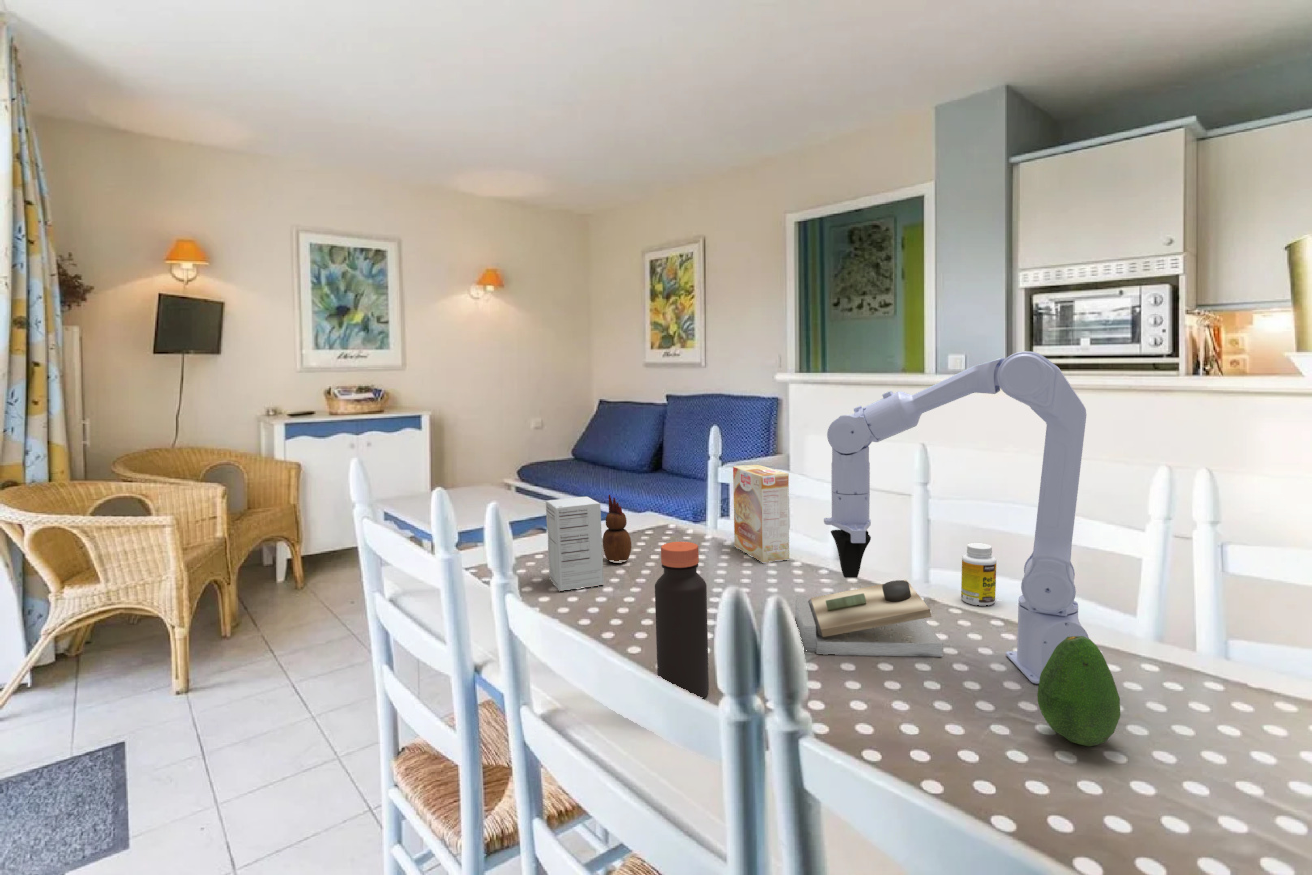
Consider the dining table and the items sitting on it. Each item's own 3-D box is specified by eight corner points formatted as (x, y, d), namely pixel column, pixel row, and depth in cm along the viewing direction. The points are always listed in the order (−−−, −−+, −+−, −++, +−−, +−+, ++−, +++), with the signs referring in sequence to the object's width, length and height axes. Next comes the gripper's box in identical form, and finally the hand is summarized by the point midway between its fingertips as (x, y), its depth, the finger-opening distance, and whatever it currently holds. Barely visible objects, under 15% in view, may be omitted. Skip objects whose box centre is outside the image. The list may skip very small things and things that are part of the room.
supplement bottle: (983, 609, 119) (985, 551, 118) (954, 600, 124) (955, 544, 123) (1002, 602, 123) (1003, 546, 121) (972, 594, 127) (973, 539, 126)
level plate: (931, 616, 102) (927, 596, 101) (818, 637, 104) (814, 617, 104) (907, 586, 115) (903, 568, 115) (808, 605, 118) (804, 587, 117)
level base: (942, 656, 101) (942, 630, 101) (804, 654, 103) (804, 628, 103) (914, 616, 117) (914, 593, 116) (794, 615, 119) (794, 592, 119)
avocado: (1088, 721, 82) (1092, 623, 81) (1135, 758, 75) (1140, 651, 73) (1021, 723, 82) (1024, 626, 81) (1061, 761, 74) (1065, 654, 73)
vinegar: (666, 708, 88) (661, 555, 86) (652, 685, 95) (647, 542, 93) (716, 700, 90) (713, 550, 88) (699, 678, 96) (695, 537, 94)
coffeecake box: (733, 547, 164) (731, 465, 162) (760, 544, 166) (759, 463, 164) (761, 564, 150) (760, 475, 148) (790, 560, 152) (790, 472, 150)
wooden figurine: (600, 560, 157) (597, 494, 155) (623, 556, 159) (621, 492, 157) (610, 567, 150) (608, 499, 149) (635, 563, 153) (633, 496, 151)
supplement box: (605, 586, 138) (601, 503, 136) (559, 593, 134) (555, 507, 133) (591, 573, 147) (588, 495, 145) (548, 579, 143) (544, 499, 142)
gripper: (818, 483, 115) (818, 562, 117) (830, 500, 101) (830, 591, 103) (862, 483, 115) (861, 563, 116) (880, 500, 100) (879, 591, 102)
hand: (850, 576), depth 109 cm, fingers closed
